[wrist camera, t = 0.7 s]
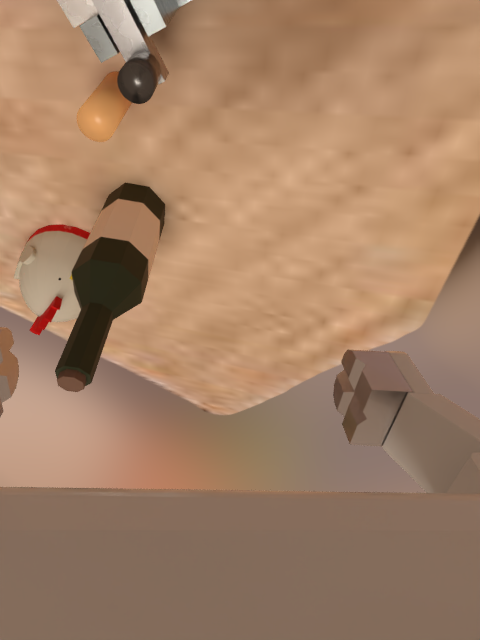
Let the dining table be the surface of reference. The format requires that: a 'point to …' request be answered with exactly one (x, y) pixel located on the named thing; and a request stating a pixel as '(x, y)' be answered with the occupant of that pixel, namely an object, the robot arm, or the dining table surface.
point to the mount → (150, 5)
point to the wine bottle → (110, 276)
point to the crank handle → (133, 50)
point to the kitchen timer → (50, 274)
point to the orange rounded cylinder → (103, 110)
